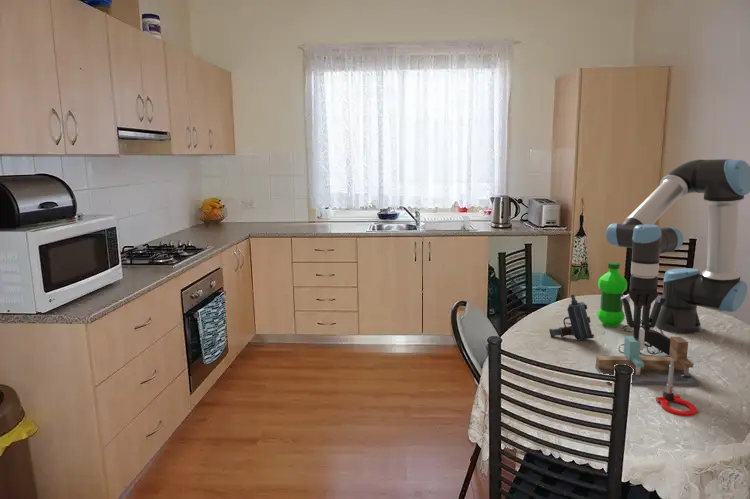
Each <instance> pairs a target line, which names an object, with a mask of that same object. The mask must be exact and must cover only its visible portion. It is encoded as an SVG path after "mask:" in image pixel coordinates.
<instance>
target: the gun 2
mask: <svg viewBox="0 0 750 499" xmlns="http://www.w3.org/2000/svg"><path fill="white" fill-rule="evenodd" d="M640 327H642V325H640ZM649 329H650V330H648V336H647V339H644V347H647V348H653V347H654V348H656V349H657V350H659V351H660V352H662V353H664V354H665V355H666V356H667V357H670V356H669V353H670V340H671V337H669V336H667V335H665V334H663V333H662V332H659V331H657V330H655V329H652V328H649ZM648 344H649V345H648Z"/></svg>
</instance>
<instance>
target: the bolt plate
mask: <svg viewBox="0 0 750 499" xmlns="http://www.w3.org/2000/svg"><path fill="white" fill-rule="evenodd" d="M595 369H596V371H597V372H598V374H600V373H603V374H609V375H614V369H599V368H598V367H597V365H596V364H595ZM668 372H669V370H655V369H640V375H636V369H634V373H633V375H632V383H631V384H630V385H647V386H666V384H667V382H668ZM605 383H606V384H608V385H613V384H612V383H610V382H605ZM672 385H673V386H695V387H696V386H697V387H698V386H700V381H699V380H698V379H697V378H696V377H695V376H694V375H692V374H691V373H690V372H689V374H688V376H684V370H674V372H673V381H672Z"/></svg>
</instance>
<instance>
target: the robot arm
mask: <svg viewBox="0 0 750 499" xmlns="http://www.w3.org/2000/svg"><path fill="white" fill-rule="evenodd" d="M691 193H692V194H693V193H697V194H703V201H704V202H706V203H707V204H708V210H707V211H708V214H707V215H708V217H707V250H706V268H705V270H703V271H702V272H701V271H700V269H698V268H693V267H692V268H688V267H687V268H685V267H684V268H683V267H681V268H672V269H668V270H666V271H665V273H664V276H663V281H662V283H663V284H662V287H663V288H662V296H661V295H659V291H658V284H659V283H658V282H659V281H658V280H659V277H657V276H659V269H660V268H659V267H660V254H664V253H665V254H666V253H670V252H674V251H675V250H677V249H679V248H680V247H682V245H683V242H684V235H683V232H682V231H681V230H680V229H678V228H676V227H673V226H669V227H668V226H665V227H661V226H660V225H657V224H655V223H656V222H657V221H658V220H659V219H660V218H661V217H662V216H663V215H664V214H665V213H666V212H667V210H668V209H670V208H671V207H672V206H673V204H674V203H676V201H677V200H679V199H681V198H684V197H685V196H687V194H691ZM748 194H750V165H749V163H748V162H747V161H745V160H743V159H732V158H731V159H730V158H728V159H726V158H724V159H723V158H722V159H717V158H716V159H694V160H690V161H687V162H685V163H682V164H680V165H678V166H677V167H675V168H673V169H671V170H670V171H669V172H668V173H666V174H665V175H664V176H663V177H662V178H661V180H660V181H659V185H658V186H657V187H656V188H655V190H653V192H651V193H650V194H649V196H647V197H646V198H645V199H644V201H642V202H641V203H640V204H639V205H638V206H637V207H636V208H635V210H633V211H632V212H631V213H630V214H629V215H628V216H627V217H626V218H625V219H624V221H622V222H621V223H619V222H614V223H611V224H609V225H608V227H607V228H606V231H605V238H606V242H607V243H608V244H609V245H612V246H617V247H619V248H620V247H622V248H623V247H624V248H630V249H631V260H630V261H631V262H630V264H631V265H630V274H631V275H630V277H629V278H630V280H629V290H628V292H627V294H626V295H623V296H621V297H620V300H621V301H622V303H623V306H622V307H623V312H624V315H625V320H626V325H627V326H629V327H630V328H631V329H633V330H632V332H633V334H632V336H633V337H634V338H635V339H638V340H639V341H640V351H644V350H645V345H644V339H647V336H648V330H650V329H654V328H655V327H656V328H657V329H660V330H662V331H666V332H669V333H674V334H675V333H676V334H683V335H688V334H689V335H690V334H697V333H700V332H701V327H702V326H701V322H700V321H701V320H700V317H699V313H698V309H697V308H698V307H703V308H706V309H711V310H715V311H719V312H726V313H735V312H737V311H738V310H739V309H741V307H742V305H743V304H744V302H745V300H746V297H747V293H748V285H747V283H746V281H743V280H741V274H740V273H739V272H738V271H737V270H736V269H737V266H736V264H737V243H738V222H739V221H738V220H739V217H738V216H739V204H740V203H741V202H742V201H743V200H744V199H745V196H747V195H748ZM630 301H632V302H633V314H632V309H631V305H630ZM654 301H655V302H654ZM653 302H654V304H653ZM652 304H653V306H652ZM651 308H652V310H651ZM650 311H651V313H650ZM640 326H642V327H640Z"/></svg>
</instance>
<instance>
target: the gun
mask: <svg viewBox="0 0 750 499" xmlns="http://www.w3.org/2000/svg"><path fill="white" fill-rule="evenodd" d="M570 297H571V302H570V304H568V306H567V314H568V316H566V317H564V318H563V325H564V326H562V327H561V326H559V328H549V330H548V331H549V334H550V337H551V338H552V337H555V336H560V337H561V338H563V337H566V336H572V337H574V338H575V340H577V341H582V340H590V339H594V336H595V334H594V333H592V329H591V325H590V323H591V318H590V316H588V313H587V310H588V305H587V304H585V302H584V301H581V302H578V300H577V299H576V295H575V294H571V295H570ZM568 319H569V322H565V321H566V320H568ZM566 324H567V325H569V326H567V325H566Z"/></svg>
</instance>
